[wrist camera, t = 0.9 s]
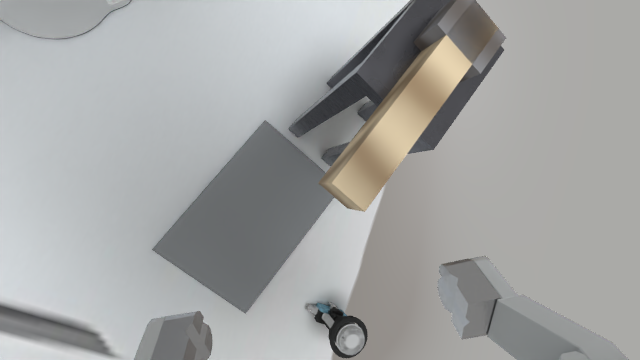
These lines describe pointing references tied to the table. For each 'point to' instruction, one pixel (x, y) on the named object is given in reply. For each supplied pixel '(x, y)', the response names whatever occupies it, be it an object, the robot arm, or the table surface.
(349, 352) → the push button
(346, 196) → the beech bar
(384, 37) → the black stand
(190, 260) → the rubber mat
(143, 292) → the table surface
